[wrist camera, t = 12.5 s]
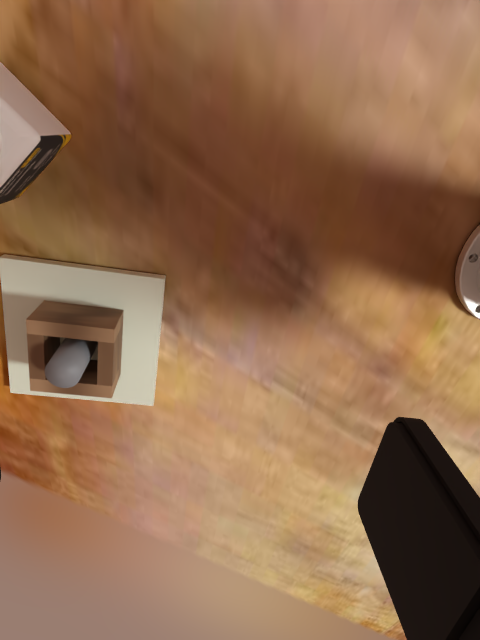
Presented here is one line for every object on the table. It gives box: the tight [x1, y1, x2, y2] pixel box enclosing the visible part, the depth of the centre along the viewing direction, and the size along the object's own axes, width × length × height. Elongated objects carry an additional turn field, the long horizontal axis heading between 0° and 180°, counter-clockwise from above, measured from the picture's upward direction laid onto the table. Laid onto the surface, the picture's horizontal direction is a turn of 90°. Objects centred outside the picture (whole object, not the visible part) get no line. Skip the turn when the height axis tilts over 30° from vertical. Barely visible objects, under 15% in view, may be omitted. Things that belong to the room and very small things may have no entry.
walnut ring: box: [26, 300, 124, 398], centre depth 37 cm, size 7×7×4 cm
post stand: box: [0, 254, 166, 406], centre depth 36 cm, size 14×14×7 cm
